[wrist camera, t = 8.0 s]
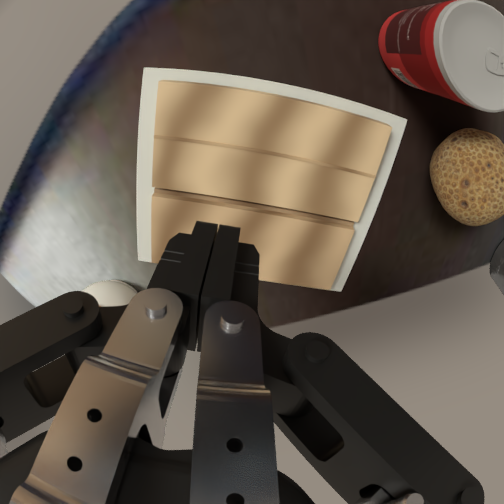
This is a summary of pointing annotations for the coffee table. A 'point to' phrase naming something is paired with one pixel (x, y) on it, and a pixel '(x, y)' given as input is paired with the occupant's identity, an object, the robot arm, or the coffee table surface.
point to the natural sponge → (470, 176)
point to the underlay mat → (157, 74)
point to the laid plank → (259, 234)
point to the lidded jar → (111, 292)
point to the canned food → (449, 51)
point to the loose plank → (265, 148)
